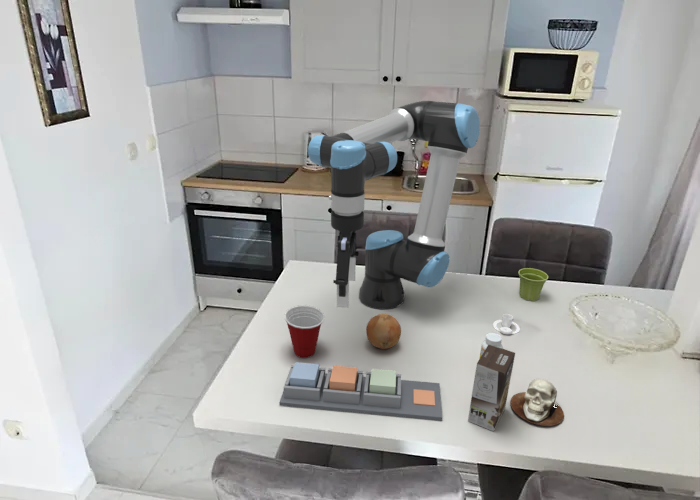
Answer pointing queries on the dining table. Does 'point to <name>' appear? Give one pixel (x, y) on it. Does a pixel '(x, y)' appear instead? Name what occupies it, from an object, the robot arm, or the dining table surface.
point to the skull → (538, 404)
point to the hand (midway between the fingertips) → (346, 292)
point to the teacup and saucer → (506, 325)
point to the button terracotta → (343, 378)
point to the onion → (383, 331)
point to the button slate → (304, 375)
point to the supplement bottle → (491, 342)
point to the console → (367, 397)
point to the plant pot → (531, 283)
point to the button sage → (383, 382)
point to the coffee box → (491, 387)
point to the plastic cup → (304, 328)
